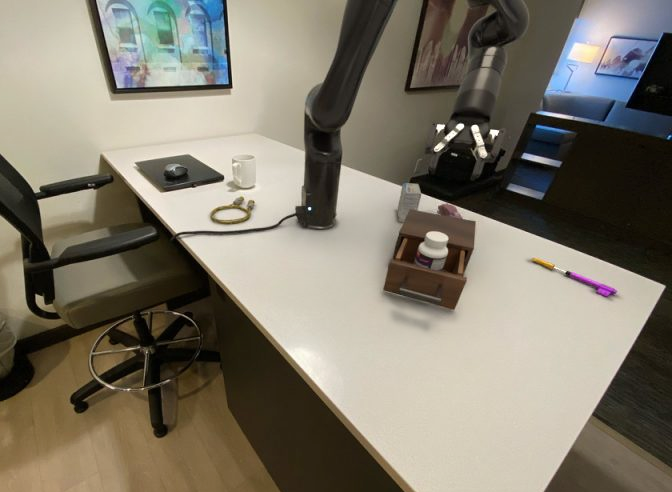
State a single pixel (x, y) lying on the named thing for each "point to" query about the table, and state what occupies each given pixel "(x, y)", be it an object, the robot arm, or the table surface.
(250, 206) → the coiled yellow cable
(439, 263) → the pill bottle
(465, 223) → the cabinet
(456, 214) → the video game controller
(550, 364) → the table surface
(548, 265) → the purple and yellow rod
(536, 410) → the table surface
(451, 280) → the drawer
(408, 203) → the medicine box
